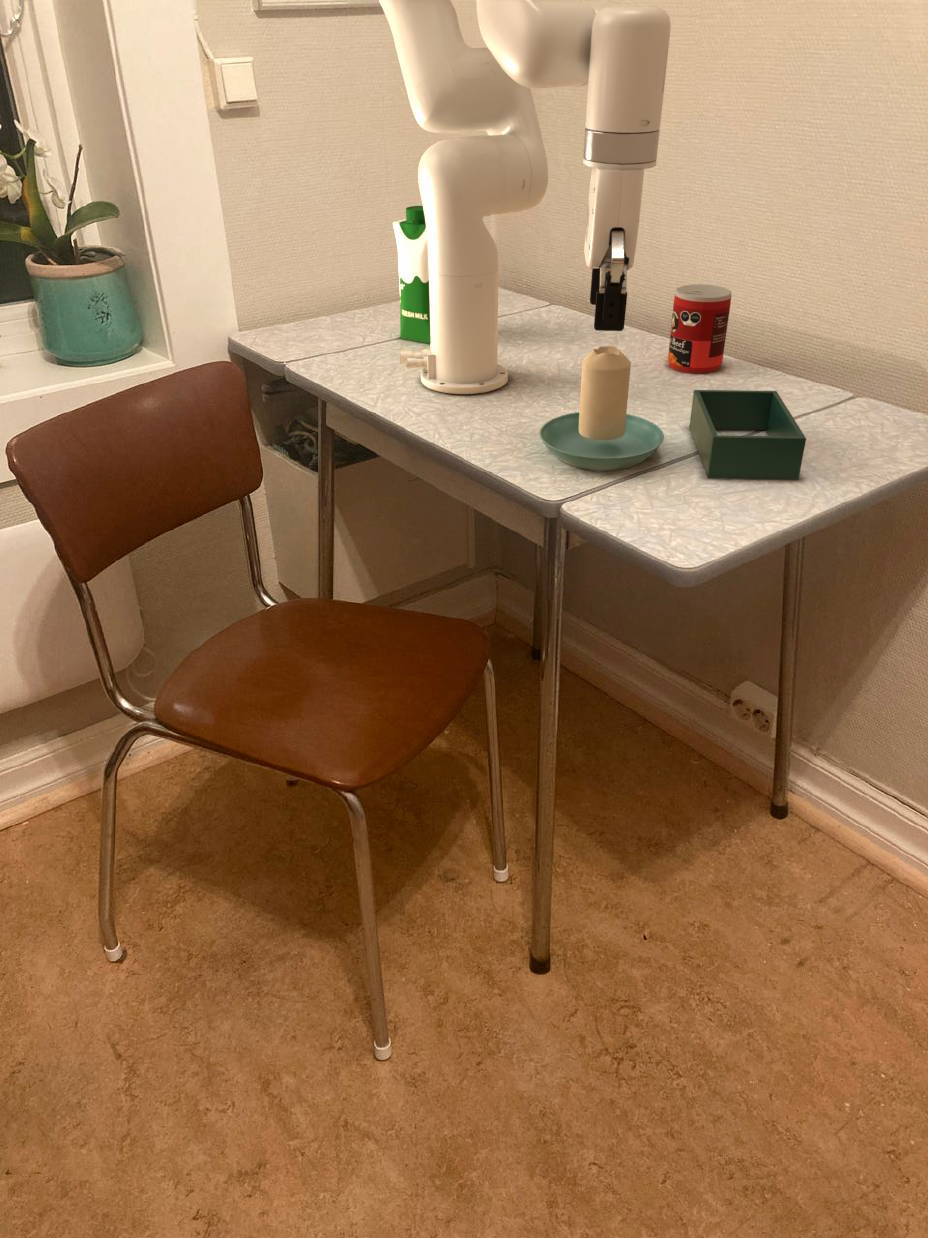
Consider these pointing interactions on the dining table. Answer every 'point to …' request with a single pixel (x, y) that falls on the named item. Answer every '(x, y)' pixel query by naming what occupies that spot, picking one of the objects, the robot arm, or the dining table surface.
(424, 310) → the milk carton
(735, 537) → the dining table surface
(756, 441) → the case
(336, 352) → the dining table surface
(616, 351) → the candle
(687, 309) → the canned food
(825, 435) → the dining table surface
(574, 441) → the saucer
